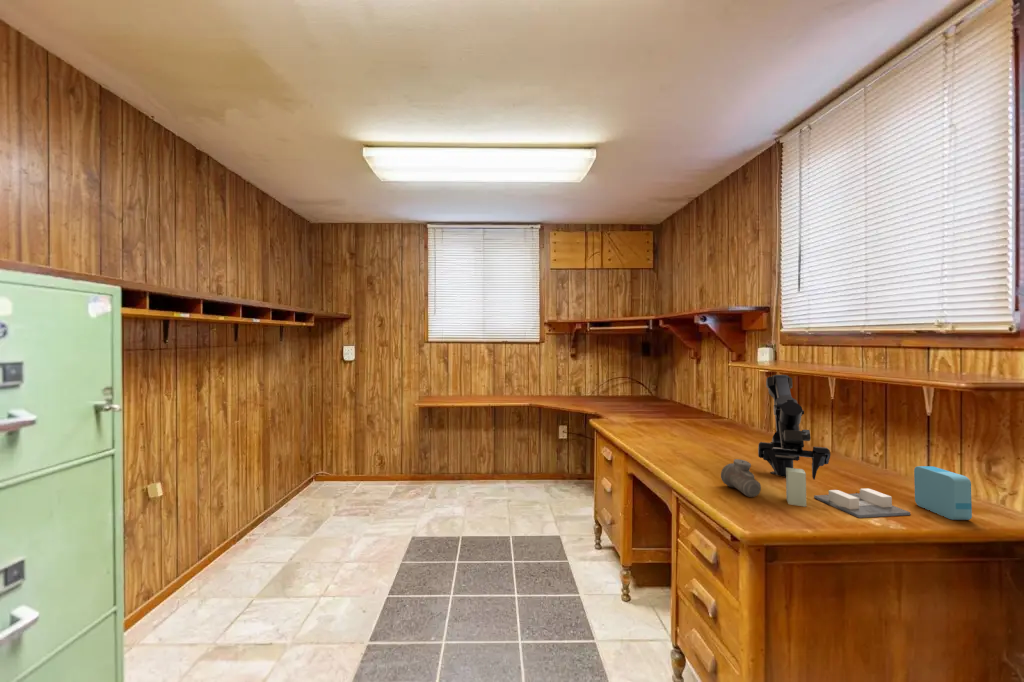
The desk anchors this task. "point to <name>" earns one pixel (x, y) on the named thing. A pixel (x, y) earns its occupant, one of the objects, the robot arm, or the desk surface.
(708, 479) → the desk surface
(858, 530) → the desk surface
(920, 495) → the data package
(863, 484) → the desk surface
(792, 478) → the block
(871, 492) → the mounted modules
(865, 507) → the mounting plate
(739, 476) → the pipe fitting
